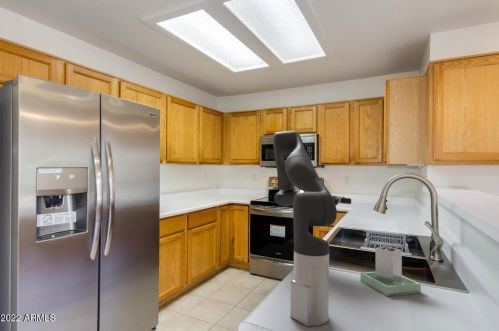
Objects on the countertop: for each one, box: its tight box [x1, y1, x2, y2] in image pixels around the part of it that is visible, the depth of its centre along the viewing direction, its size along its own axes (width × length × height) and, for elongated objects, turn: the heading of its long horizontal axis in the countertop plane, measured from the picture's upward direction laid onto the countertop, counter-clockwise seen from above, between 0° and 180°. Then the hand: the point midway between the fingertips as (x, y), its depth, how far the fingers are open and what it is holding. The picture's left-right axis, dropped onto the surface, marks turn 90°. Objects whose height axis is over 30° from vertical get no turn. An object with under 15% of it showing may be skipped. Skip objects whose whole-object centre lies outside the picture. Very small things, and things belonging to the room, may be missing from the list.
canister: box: [375, 245, 403, 286], centre depth 94 cm, size 6×6×12 cm
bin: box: [360, 271, 422, 297], centre depth 94 cm, size 13×13×3 cm
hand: (344, 201), depth 105 cm, fingers open, 8 cm apart
